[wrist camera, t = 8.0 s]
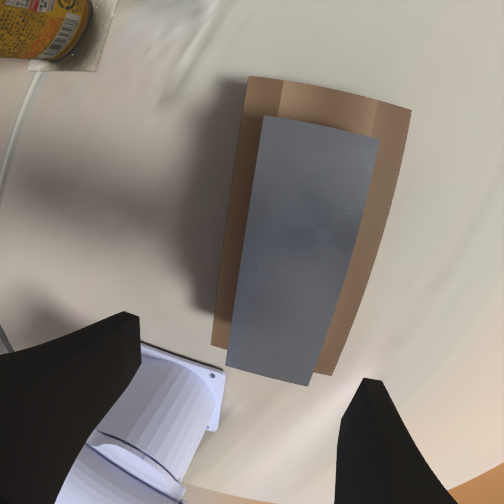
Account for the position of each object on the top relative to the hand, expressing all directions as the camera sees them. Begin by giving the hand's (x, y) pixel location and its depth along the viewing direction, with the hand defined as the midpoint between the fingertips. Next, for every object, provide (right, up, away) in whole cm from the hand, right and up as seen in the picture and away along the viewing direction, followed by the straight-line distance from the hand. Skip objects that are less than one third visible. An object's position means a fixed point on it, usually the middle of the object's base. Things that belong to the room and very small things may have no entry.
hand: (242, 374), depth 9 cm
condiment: (-13, +20, +7) cm, 25 cm away
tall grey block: (+3, +5, +9) cm, 10 cm away
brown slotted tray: (+3, +5, +9) cm, 10 cm away
